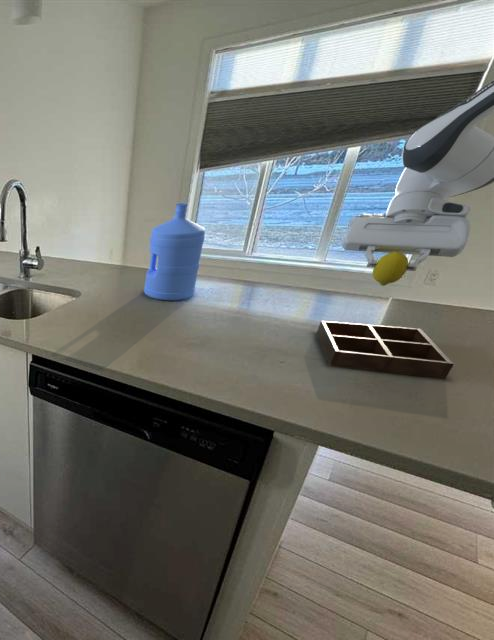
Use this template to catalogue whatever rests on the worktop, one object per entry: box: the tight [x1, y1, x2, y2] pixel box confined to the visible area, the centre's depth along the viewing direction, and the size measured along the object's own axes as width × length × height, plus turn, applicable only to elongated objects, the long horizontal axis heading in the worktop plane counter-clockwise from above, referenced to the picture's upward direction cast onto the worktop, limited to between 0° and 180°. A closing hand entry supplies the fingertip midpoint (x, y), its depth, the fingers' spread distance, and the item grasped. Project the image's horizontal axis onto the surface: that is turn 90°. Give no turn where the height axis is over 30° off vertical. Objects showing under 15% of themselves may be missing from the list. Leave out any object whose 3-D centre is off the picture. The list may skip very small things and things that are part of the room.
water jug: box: [143, 202, 206, 302], centre depth 129 cm, size 16×16×28 cm
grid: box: [315, 320, 455, 380], centre depth 90 cm, size 18×18×4 cm
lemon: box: [372, 251, 409, 287], centre depth 93 cm, size 6×6×8 cm
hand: (390, 267), depth 92 cm, fingers closed on lemon, 5 cm apart
